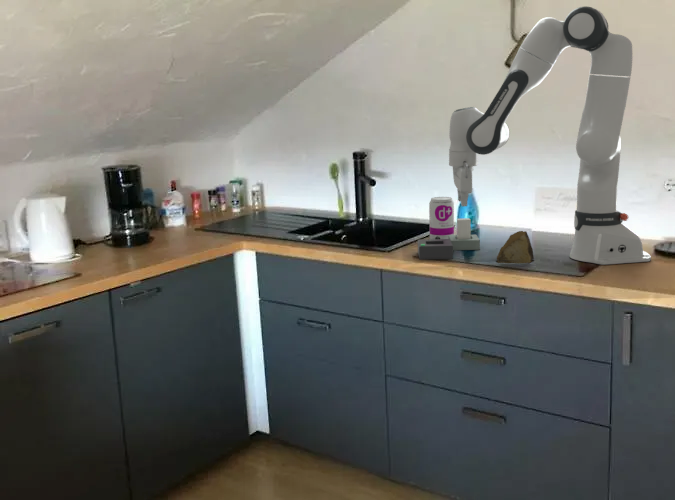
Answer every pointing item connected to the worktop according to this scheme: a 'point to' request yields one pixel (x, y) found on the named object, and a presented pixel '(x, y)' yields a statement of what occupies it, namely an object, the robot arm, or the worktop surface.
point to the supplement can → (441, 217)
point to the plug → (464, 228)
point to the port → (435, 249)
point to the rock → (516, 249)
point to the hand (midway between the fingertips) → (462, 203)
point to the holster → (465, 243)
